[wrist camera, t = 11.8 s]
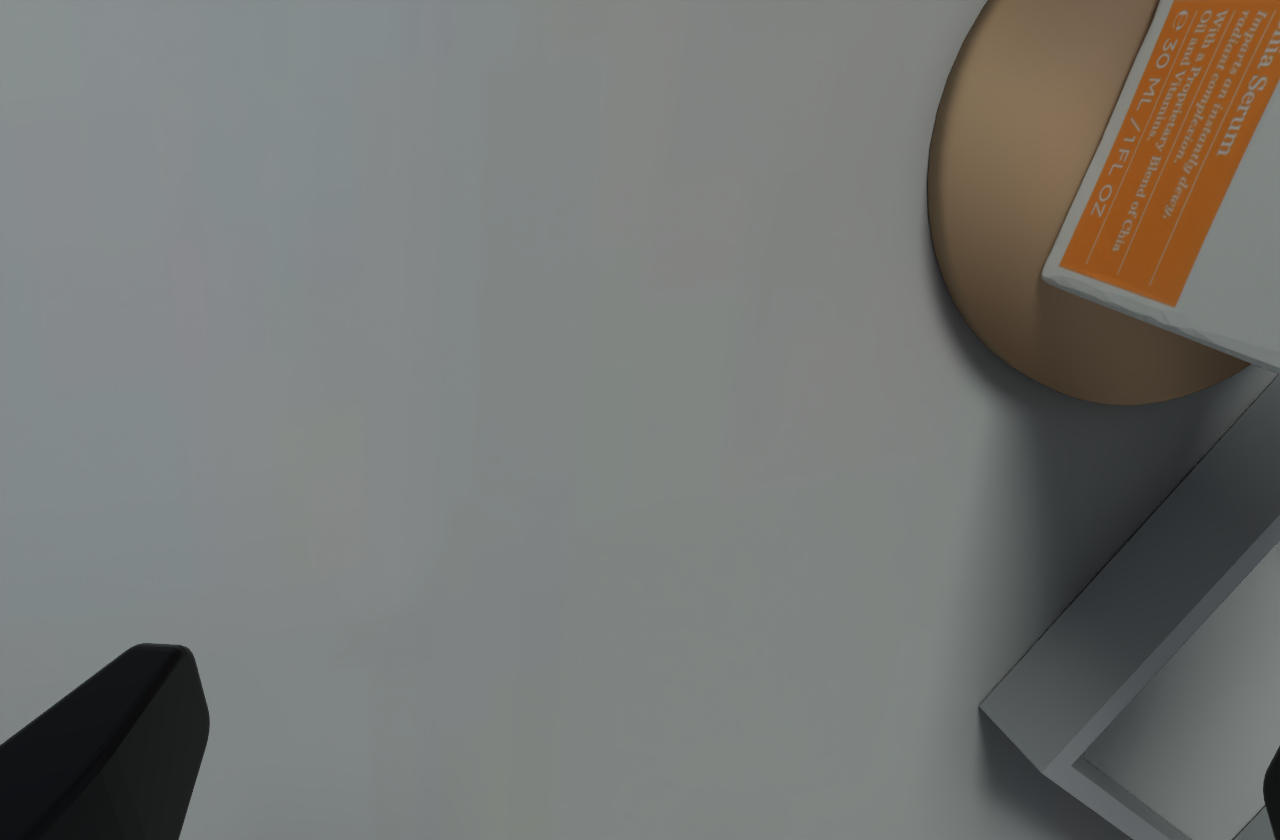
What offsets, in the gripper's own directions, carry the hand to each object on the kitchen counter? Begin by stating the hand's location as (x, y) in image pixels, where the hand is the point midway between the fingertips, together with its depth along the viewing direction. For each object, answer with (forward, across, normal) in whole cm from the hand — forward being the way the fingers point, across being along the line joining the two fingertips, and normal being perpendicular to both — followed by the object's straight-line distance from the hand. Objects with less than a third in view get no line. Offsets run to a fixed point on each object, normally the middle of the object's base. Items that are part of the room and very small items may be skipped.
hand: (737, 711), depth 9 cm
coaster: (+15, -9, 0) cm, 18 cm away
